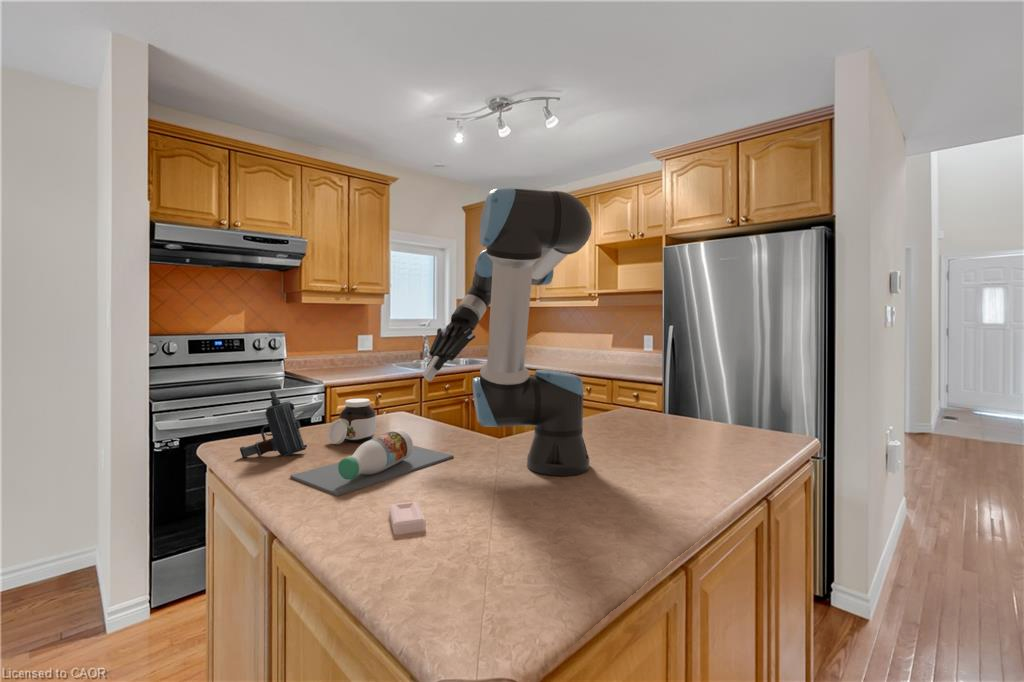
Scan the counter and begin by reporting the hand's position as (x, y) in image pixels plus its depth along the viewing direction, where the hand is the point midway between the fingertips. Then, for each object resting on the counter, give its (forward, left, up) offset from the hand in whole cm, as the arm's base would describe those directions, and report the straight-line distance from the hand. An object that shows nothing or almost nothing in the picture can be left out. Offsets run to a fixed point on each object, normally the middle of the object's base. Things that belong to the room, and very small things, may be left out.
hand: (426, 377), depth 132 cm
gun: (+18, +35, -20) cm, 44 cm away
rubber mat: (-5, +15, -20) cm, 26 cm away
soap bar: (-39, +21, -21) cm, 49 cm away
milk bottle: (-4, +9, -15) cm, 18 cm away
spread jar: (+22, +14, -20) cm, 33 cm away
